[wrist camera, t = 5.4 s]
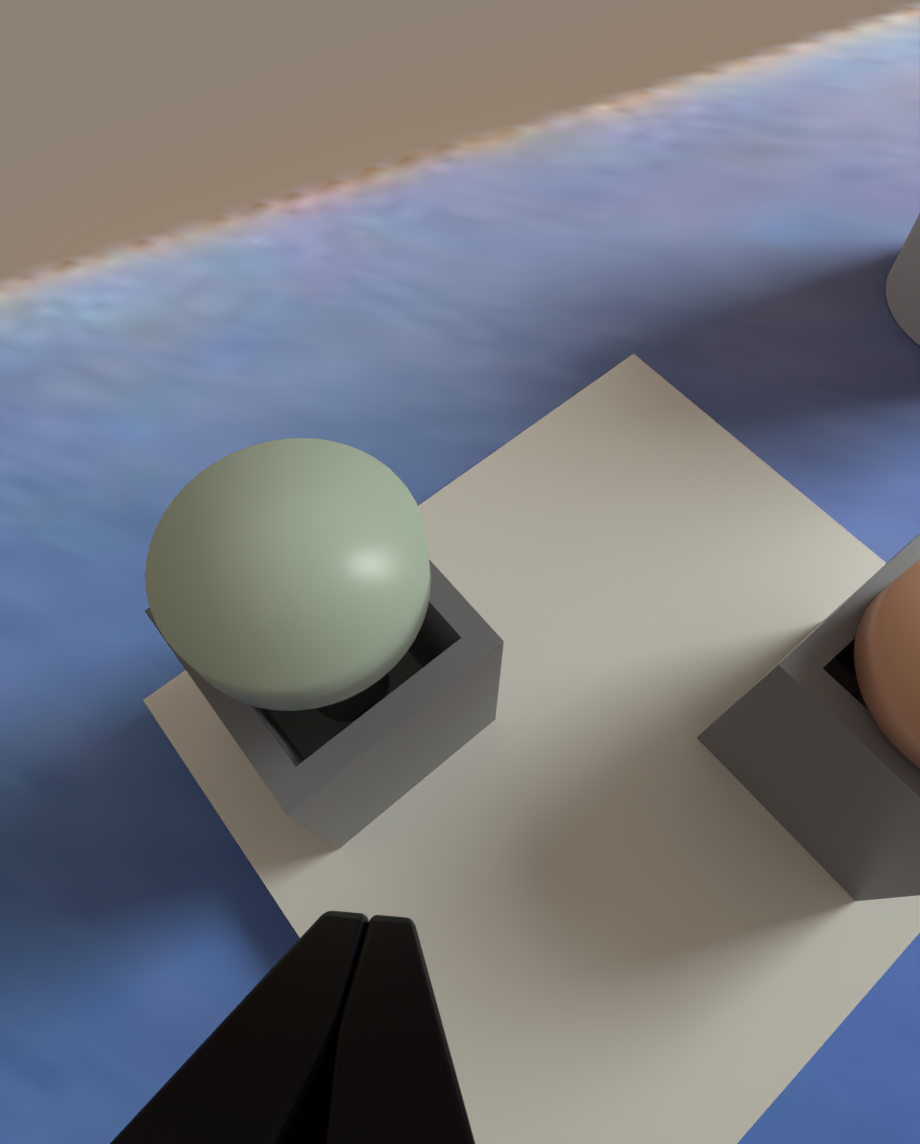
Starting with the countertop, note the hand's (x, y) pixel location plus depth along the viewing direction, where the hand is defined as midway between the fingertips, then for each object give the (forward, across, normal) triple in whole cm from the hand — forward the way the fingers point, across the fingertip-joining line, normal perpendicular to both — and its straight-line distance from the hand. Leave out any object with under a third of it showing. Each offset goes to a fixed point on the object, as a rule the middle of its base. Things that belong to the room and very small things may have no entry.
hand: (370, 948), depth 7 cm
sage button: (+11, +3, +3) cm, 12 cm away
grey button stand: (+14, -4, +5) cm, 15 cm away
